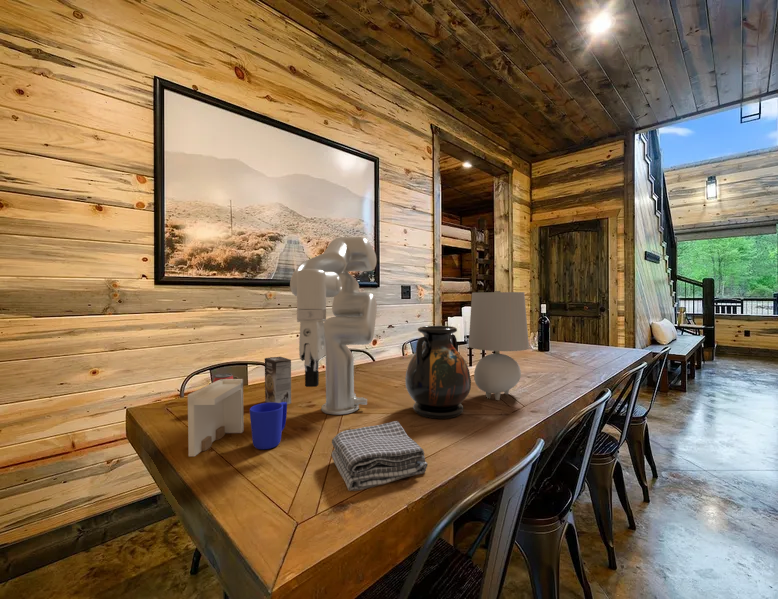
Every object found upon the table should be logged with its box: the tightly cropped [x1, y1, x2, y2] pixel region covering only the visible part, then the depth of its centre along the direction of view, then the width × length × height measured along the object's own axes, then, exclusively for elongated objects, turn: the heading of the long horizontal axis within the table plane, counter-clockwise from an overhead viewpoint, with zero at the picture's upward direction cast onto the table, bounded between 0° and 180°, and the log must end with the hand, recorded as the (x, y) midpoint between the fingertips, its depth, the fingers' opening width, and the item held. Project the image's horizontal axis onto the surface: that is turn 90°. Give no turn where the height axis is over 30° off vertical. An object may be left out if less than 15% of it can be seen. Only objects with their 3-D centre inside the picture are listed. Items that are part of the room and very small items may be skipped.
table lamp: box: [468, 290, 530, 401], centre depth 131 cm, size 23×22×40 cm
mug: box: [249, 402, 288, 450], centre depth 92 cm, size 8×12×10 cm
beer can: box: [212, 372, 235, 383], centre depth 120 cm, size 7×7×12 cm
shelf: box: [187, 378, 245, 457], centre depth 92 cm, size 6×16×15 cm, turn 179°
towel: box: [331, 420, 428, 492], centre depth 78 cm, size 15×18×8 cm
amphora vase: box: [404, 325, 472, 420], centre depth 116 cm, size 22×22×28 cm
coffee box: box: [264, 356, 292, 405], centre depth 127 cm, size 9×6×16 cm
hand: (311, 385), depth 91 cm, fingers closed
